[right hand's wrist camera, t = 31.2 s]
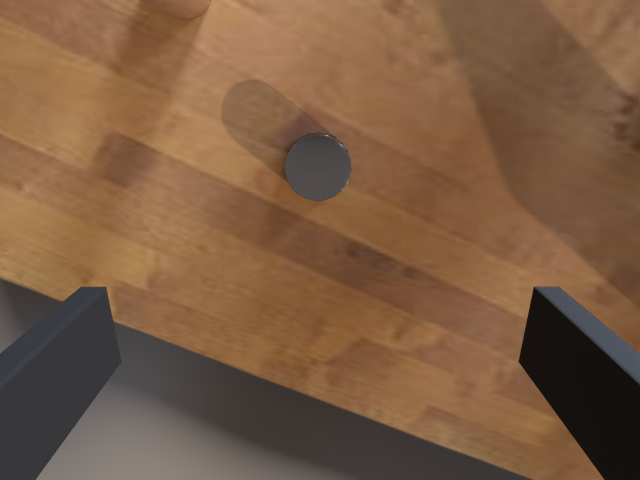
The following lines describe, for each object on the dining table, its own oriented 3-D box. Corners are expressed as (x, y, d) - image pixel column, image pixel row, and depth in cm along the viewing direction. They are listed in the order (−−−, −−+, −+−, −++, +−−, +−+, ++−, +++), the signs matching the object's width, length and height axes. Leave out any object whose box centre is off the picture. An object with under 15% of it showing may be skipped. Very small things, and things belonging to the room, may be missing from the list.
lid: (299, 205, 41) (298, 210, 40) (275, 145, 39) (273, 147, 37) (358, 184, 41) (360, 188, 39) (337, 122, 38) (338, 123, 37)
